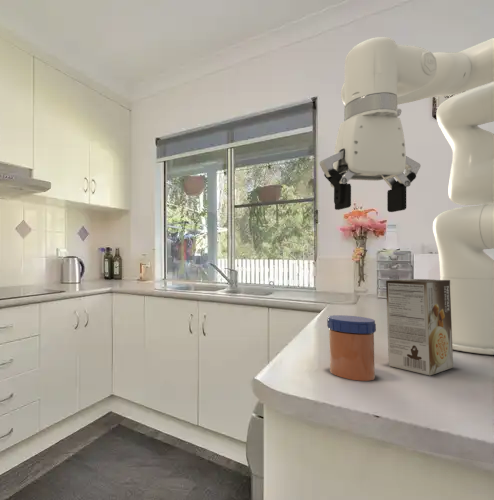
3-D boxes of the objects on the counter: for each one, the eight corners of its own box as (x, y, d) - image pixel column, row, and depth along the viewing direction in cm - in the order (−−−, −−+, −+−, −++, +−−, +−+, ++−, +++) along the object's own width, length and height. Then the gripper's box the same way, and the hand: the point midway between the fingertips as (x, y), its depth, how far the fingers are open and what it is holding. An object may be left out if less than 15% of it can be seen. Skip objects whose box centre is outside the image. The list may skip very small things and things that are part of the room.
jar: (327, 366, 62) (326, 317, 62) (370, 371, 59) (368, 319, 60) (332, 377, 56) (331, 322, 57) (379, 383, 54) (378, 326, 54)
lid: (325, 324, 63) (325, 314, 63) (370, 327, 60) (370, 316, 60) (330, 331, 57) (329, 320, 57) (380, 335, 54) (379, 323, 54)
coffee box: (410, 359, 66) (408, 278, 67) (454, 368, 61) (451, 280, 61) (387, 366, 62) (384, 279, 63) (431, 376, 57) (428, 281, 57)
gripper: (398, 125, 63) (399, 215, 63) (309, 120, 63) (308, 211, 62) (438, 106, 56) (438, 208, 55) (336, 101, 55) (335, 203, 55)
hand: (369, 209), depth 59 cm, fingers open, 9 cm apart
